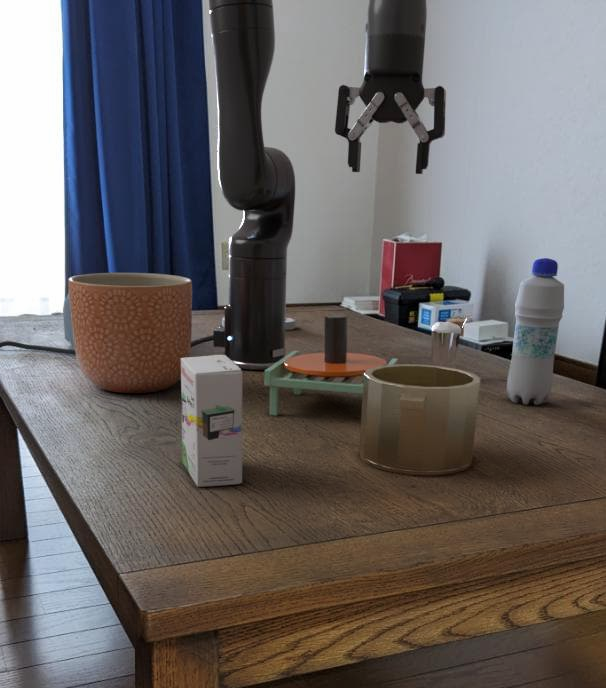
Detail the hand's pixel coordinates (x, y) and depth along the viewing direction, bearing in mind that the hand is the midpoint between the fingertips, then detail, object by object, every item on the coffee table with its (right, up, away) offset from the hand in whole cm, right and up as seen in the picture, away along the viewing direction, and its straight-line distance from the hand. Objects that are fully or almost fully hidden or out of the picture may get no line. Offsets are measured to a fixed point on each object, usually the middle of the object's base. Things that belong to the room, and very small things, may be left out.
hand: (387, 173), depth 120 cm
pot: (+2, -40, -18) cm, 44 cm away
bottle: (+21, -29, +10) cm, 38 cm away
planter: (-36, -27, +11) cm, 46 cm away
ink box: (-21, -42, -25) cm, 54 cm away
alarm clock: (-44, -15, +40) cm, 61 cm away
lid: (-7, -26, +1) cm, 27 cm away
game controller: (-20, -7, +62) cm, 66 cm away
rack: (-7, -31, +3) cm, 32 cm away
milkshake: (+11, -24, +22) cm, 35 cm away
